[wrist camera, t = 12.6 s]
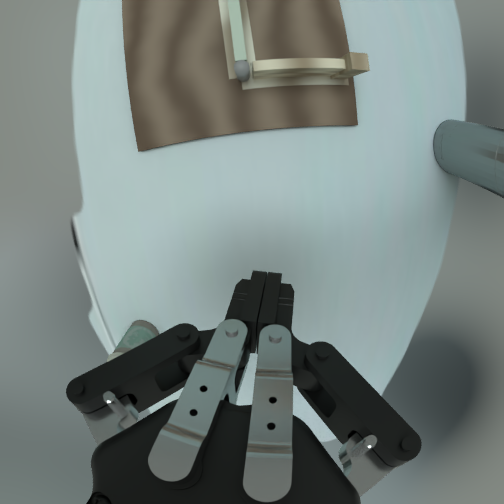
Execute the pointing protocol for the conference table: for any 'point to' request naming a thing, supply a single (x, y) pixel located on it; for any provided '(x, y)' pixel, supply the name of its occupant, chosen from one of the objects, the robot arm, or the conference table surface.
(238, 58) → the hinged fence panel
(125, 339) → the coffee cup
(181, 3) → the board
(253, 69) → the fixed fence panel
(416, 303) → the conference table surface
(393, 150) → the conference table surface
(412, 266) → the conference table surface
